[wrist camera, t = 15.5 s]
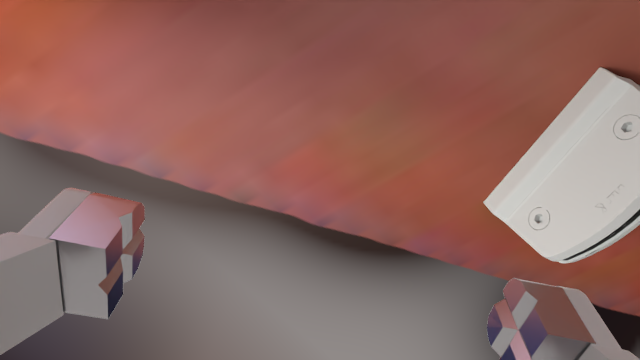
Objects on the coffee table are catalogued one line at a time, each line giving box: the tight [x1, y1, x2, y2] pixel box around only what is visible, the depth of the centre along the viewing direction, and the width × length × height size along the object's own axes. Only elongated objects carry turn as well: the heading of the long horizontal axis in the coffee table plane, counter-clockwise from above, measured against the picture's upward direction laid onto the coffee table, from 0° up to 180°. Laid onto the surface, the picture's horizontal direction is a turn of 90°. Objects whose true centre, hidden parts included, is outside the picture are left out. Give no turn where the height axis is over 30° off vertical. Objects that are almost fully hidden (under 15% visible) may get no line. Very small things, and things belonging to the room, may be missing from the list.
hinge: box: [483, 67, 640, 263], centre depth 39 cm, size 17×5×10 cm, turn 153°
